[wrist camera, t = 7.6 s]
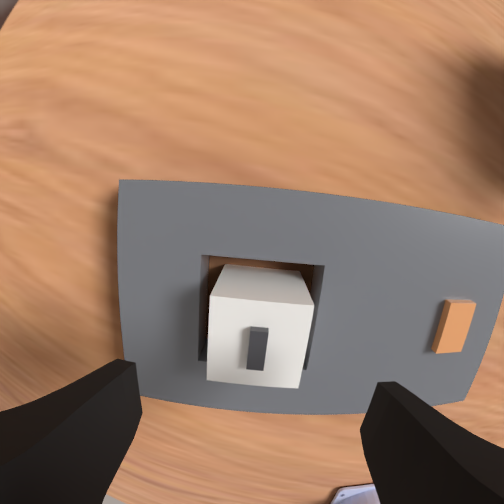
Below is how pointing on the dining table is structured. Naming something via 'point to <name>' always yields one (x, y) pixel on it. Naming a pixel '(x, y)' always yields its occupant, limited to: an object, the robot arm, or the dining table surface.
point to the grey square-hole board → (322, 292)
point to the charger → (258, 327)
